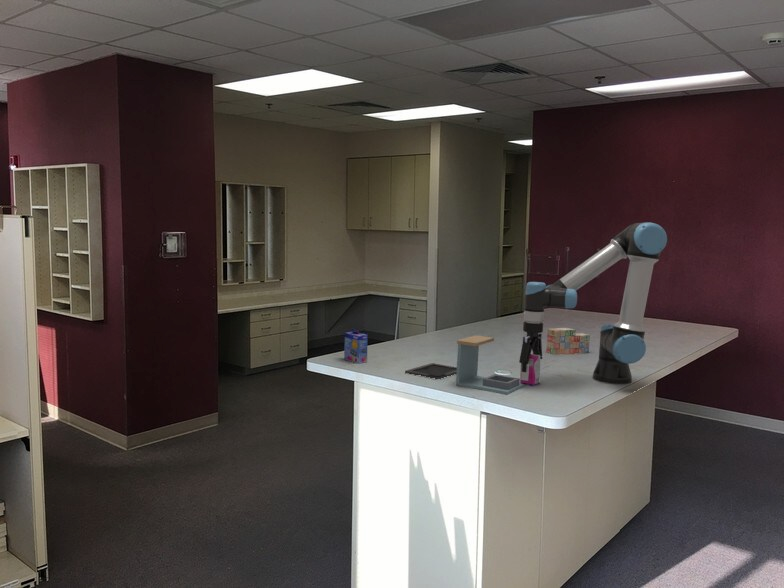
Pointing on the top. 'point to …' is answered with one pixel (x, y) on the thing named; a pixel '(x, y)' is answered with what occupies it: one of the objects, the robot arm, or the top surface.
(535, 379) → the supplement box
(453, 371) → the picture frame
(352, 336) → the ink cartridge box
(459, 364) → the socket stand
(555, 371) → the top surface
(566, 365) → the top surface
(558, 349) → the stack of blocks
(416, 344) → the top surface
